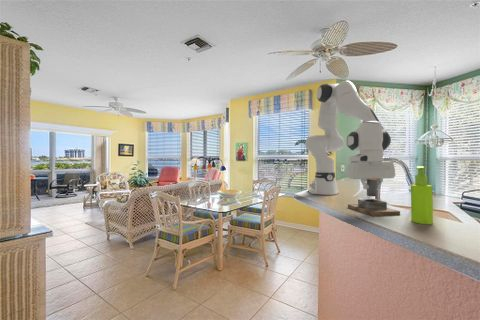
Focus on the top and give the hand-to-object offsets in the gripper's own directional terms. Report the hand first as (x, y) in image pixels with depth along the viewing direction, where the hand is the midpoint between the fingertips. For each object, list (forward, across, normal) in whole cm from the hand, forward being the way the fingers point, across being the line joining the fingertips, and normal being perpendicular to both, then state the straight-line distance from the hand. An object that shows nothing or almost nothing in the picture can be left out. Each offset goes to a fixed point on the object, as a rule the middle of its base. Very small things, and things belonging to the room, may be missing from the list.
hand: (371, 189), depth 93 cm
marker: (+3, 0, 0) cm, 3 cm away
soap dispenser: (+10, -5, +18) cm, 21 cm away
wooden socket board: (+10, 0, 0) cm, 10 cm away
